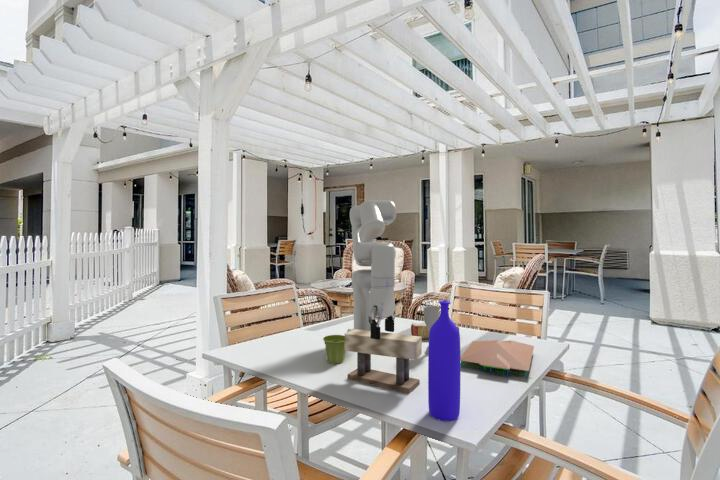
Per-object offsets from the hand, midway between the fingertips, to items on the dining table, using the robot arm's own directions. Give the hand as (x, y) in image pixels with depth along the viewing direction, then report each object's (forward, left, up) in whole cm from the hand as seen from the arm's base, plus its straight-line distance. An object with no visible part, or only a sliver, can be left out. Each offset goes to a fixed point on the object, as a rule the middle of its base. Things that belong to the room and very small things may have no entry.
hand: (382, 334), depth 122 cm
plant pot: (-24, +8, -15) cm, 29 cm away
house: (+28, +39, -16) cm, 50 cm away
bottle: (+24, -11, -15) cm, 31 cm away
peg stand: (0, 0, -15) cm, 15 cm away
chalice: (+3, +36, -15) cm, 39 cm away
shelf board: (0, 0, -6) cm, 6 cm away
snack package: (-3, +57, -16) cm, 59 cm away
